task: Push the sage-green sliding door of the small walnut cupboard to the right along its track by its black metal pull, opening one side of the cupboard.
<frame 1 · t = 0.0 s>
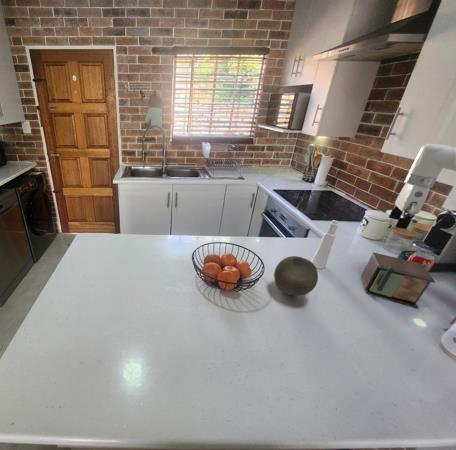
hand: (396, 223, 96), 24 cm above the countertop, tool pointing down, fingers open, 9 cm apart
cosmetic bottle: (317, 265, 111), on the countertop
cupboard: (386, 289, 98), on the countertop
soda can: (409, 279, 104), on the countertop
cantaloupe: (289, 292, 94), on the countertop
sliding door: (388, 282, 89), point 8 cm above the countertop, slide at 0.0 cm
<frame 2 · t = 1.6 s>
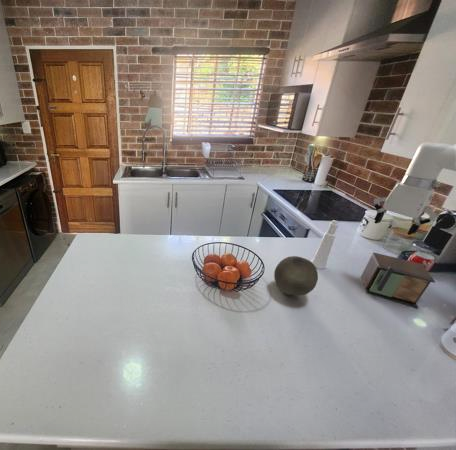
hand: (392, 228, 89), 25 cm above the countertop, tool pointing down, fingers open, 9 cm apart
nothing on the countertop moved.
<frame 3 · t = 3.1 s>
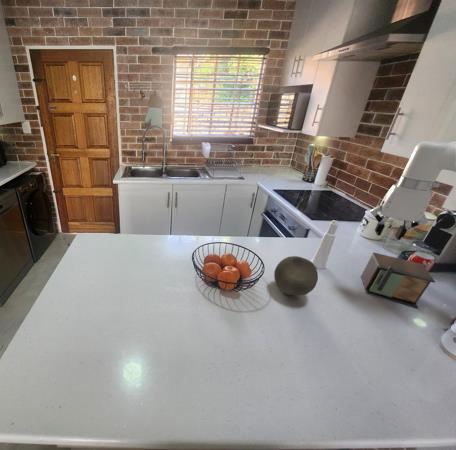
hand: (387, 235, 84), 25 cm above the countertop, tool pointing down, fingers open, 4 cm apart
nothing on the countertop moved.
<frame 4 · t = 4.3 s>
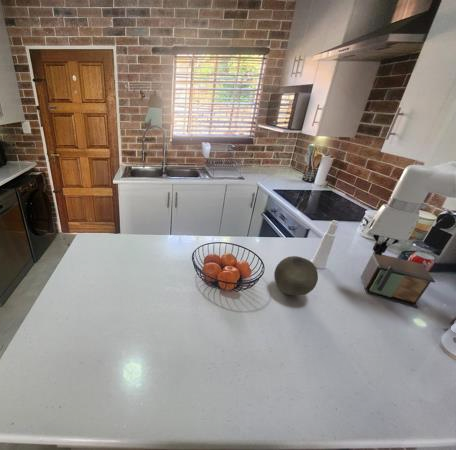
hand: (377, 252, 87), 18 cm above the countertop, tool pointing down, fingers closed
nothing on the countertop moved.
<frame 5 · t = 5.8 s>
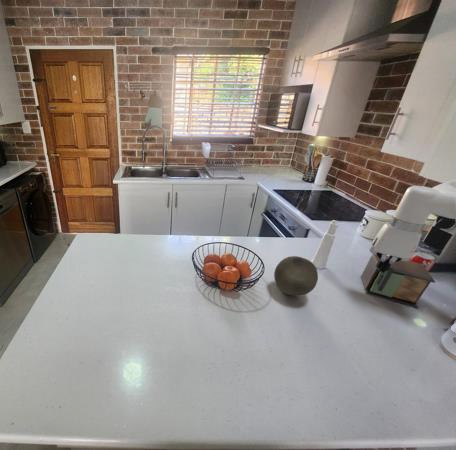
hand: (380, 269, 88), 12 cm above the countertop, tool pointing down, fingers closed
sliding door: (389, 282, 89), point 8 cm above the countertop, slide at 0.1 cm, touching gripper
everything else where it was.
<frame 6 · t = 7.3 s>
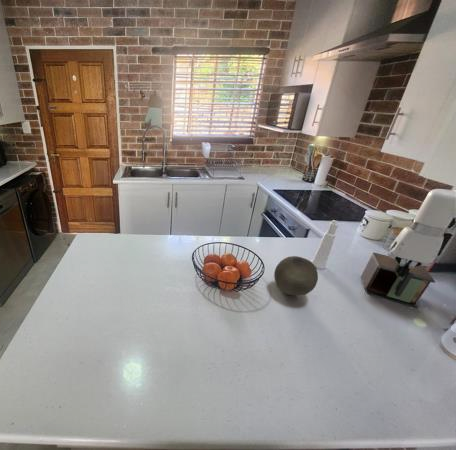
hand: (398, 274, 86), 12 cm above the countertop, tool pointing down, fingers closed
sliding door: (407, 287, 87), point 8 cm above the countertop, slide at 5.2 cm, touching gripper
everything else where it was.
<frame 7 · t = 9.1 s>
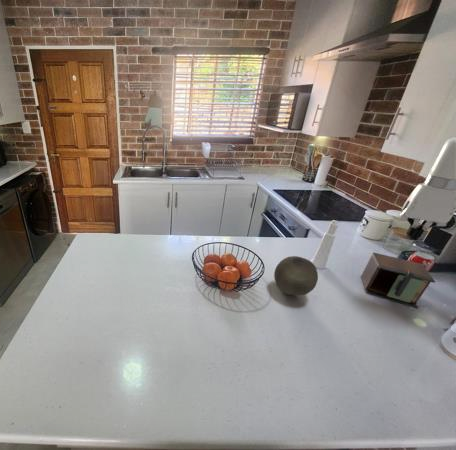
hand: (411, 238, 79), 27 cm above the countertop, tool pointing down, fingers closed
sliding door: (407, 287, 87), point 8 cm above the countertop, slide at 5.2 cm
everything else where it was.
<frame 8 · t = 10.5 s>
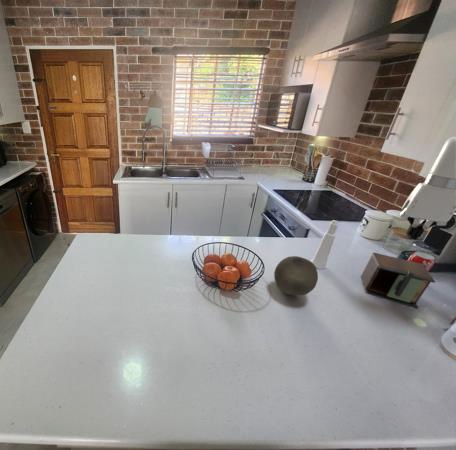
hand: (411, 237, 79), 27 cm above the countertop, tool pointing down, fingers closed
nothing on the countertop moved.
at the end: sliding door slide at 5.2 cm; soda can moved 0.2 cm from its start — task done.
